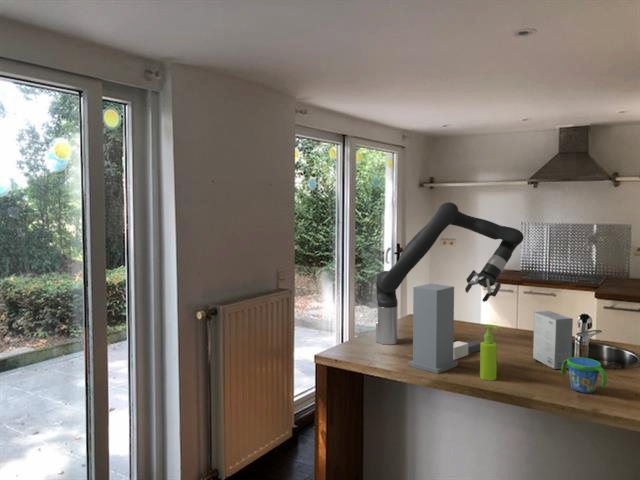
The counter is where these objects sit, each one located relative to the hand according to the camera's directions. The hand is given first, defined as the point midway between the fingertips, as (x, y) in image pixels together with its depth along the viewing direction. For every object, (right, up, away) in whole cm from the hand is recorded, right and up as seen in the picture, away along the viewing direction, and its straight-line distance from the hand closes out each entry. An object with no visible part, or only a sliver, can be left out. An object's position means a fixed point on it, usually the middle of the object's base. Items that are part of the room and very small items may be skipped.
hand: (474, 296), depth 231 cm
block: (-6, -24, -5) cm, 25 cm away
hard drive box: (+25, -25, -20) cm, 41 cm away
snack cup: (+23, -28, -49) cm, 61 cm away
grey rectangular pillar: (-23, -26, -21) cm, 41 cm away
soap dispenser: (-5, -27, -36) cm, 45 cm away
